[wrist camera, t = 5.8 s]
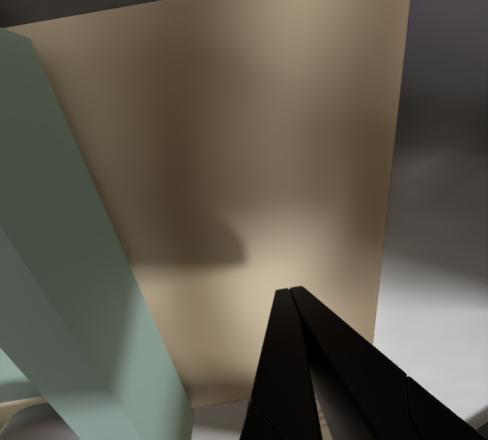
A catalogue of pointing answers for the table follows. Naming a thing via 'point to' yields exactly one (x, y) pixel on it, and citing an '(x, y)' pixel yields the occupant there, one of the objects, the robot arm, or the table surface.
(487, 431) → the external hard drive
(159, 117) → the board
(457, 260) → the table surface
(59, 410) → the panel
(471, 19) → the table surface
